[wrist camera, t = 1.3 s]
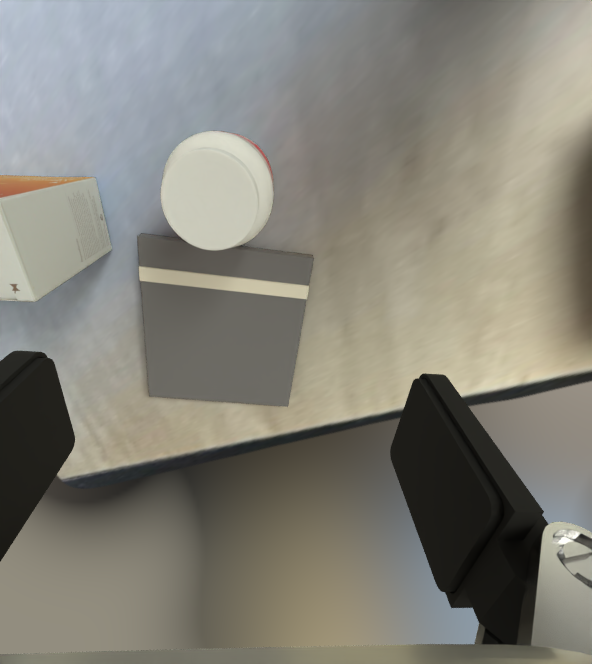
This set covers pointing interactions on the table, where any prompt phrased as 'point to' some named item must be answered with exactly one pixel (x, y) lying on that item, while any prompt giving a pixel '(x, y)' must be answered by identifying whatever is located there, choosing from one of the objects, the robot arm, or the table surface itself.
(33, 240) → the small box
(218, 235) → the pill bottle
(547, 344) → the table surface
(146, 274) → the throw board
